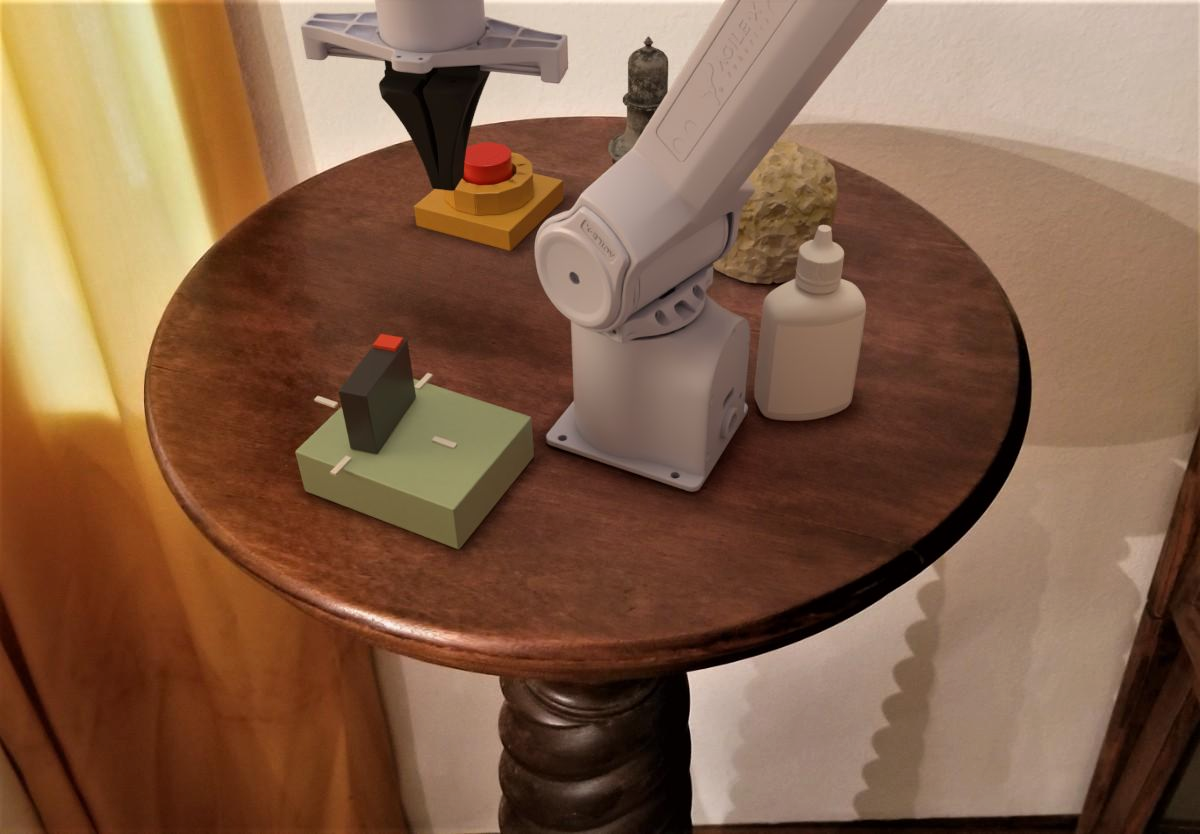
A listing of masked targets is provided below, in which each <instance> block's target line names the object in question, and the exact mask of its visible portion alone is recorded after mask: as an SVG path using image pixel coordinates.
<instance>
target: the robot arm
mask: <svg viewBox="0 0 1200 834" xmlns="http://www.w3.org/2000/svg"><path fill="white" fill-rule="evenodd" d="M888 1H889V0H724V1H723V2H722V5H721V6H720V7H719V9H718V11H717V13H716V14H715V15H714V17H713V19H712V20H711V22H710V23H709V25H708V27H707V29H706V30H705V32H704V33H703V35H702V37H701V38H700V40H699V41H698V43H697V44H696V46H695V47H694V50H692V52H691V54H690V56H689V57H688V59H687V60H686V62H685V64H684V65H683V66H682V68H681V70H680V72H679V73H678V75H677V76H676V78H675V80H674V81H673V83H672V85H671V86H670V88H668V92H667V94H666V96H665V97H664V99H663V100H662V102H661V103H660V105H659V107H658V108H657V110H656V111H655V113H654V115H653V116H652V118H651V119H650V121H649V123H648V124H647V126H646V127H645V129H644V131H643V132H642V134H641V135H640V137H639V139H638V140H637V142H636V143H635V145H634V147H633V148H632V149H631V150H630V151H629V152H628V153H626V154H625V155H624V156H623V157H622V158H621V159H620V160H619V161H617V162H616V163H615V164H613V165H611V166H610V167H609V168H608V169H607V170H606V171H604V172H603V174H601V175H600V176H599V177H598V178H597V179H595V181H593V182H592V183H591V184H590V185H589V186H588V187H586V189H584V190H583V191H582V192H581V194H580V195H579V197H578V198H577V199H576V201H575V203H574V205H573V206H572V207H570V209H568V210H565V211H562V212H560V213H557V214H554V215H552V216H551V217H548V218H546V220H545V221H543V223H542V224H541V225H540V227H539V228H538V230H537V233H536V236H535V240H534V260H535V266H536V271H537V272H536V273H537V276H538V279H539V282H540V284H541V286H542V288H543V290H544V293H545V294H546V296H547V298H548V299H549V300H550V302H551V303H552V304H553V306H554V307H555V308H556V309H557V310H558V312H560V313H561V314H562V315H563V316H564V317H565V318H567V319H568V320H569V321H570V332H571V357H572V358H571V361H572V385H573V387H572V388H573V389H572V390H573V401H572V402H571V403H570V405H569V406H568V407H567V408H566V409H565V410H564V412H563V413H562V414H561V415H560V417H559V418H558V419H557V420H556V422H555V423H554V424H553V425H552V427H551V428H550V429H549V431H547V433H546V435H545V441H546V443H547V444H548V445H549V446H550V447H551V446H552V447H555V448H557V449H560V450H563V451H566V452H570V453H572V454H575V455H578V456H582V457H585V458H588V459H590V460H594V461H597V462H599V463H603V464H605V465H607V466H612V467H614V468H617V469H621V470H624V471H627V472H630V473H633V474H636V475H640V476H642V477H645V478H648V479H650V480H654V481H657V482H660V483H662V484H666V485H668V486H671V487H674V488H677V489H681V490H684V491H686V492H691V493H694V492H697V491H699V490H700V489H701V488H702V486H703V484H704V483H705V482H706V480H707V479H708V477H709V475H710V474H711V472H712V470H713V468H714V467H715V466H716V464H717V463H718V461H719V460H720V458H721V456H722V454H723V452H724V451H725V450H726V448H727V446H728V444H729V443H730V441H731V439H732V438H733V437H734V435H735V434H736V432H737V430H738V429H739V427H740V425H741V423H742V422H743V420H744V419H745V417H746V416H747V414H748V411H749V406H748V404H747V403H746V395H747V394H746V392H747V382H748V369H749V361H750V359H749V358H750V350H751V349H750V348H751V347H750V346H751V326H750V322H749V320H748V319H747V318H745V317H743V316H741V315H739V314H736V313H734V312H732V311H730V310H728V309H726V308H725V307H723V306H721V305H720V304H719V303H717V302H716V301H715V300H714V299H713V298H711V297H710V296H709V295H708V293H707V290H708V288H709V287H710V286H711V285H713V282H714V281H713V280H714V264H712V263H714V262H716V261H718V260H720V259H722V258H723V257H724V256H726V255H727V254H728V253H729V252H730V250H731V249H732V247H733V246H734V244H735V242H736V238H737V235H738V228H739V219H740V215H741V212H742V210H743V207H744V206H745V204H746V203H747V201H748V200H749V199H750V198H751V196H752V195H753V194H754V192H755V189H754V186H753V184H752V182H751V180H750V178H749V176H750V175H751V173H752V172H753V171H754V170H755V168H756V167H757V166H758V164H759V163H760V162H761V161H762V159H763V158H764V157H765V156H766V154H767V153H768V152H769V150H770V149H771V148H772V147H773V145H774V144H775V143H776V142H777V140H778V139H780V138H781V137H782V135H783V134H784V133H785V131H786V130H787V129H788V127H790V126H791V124H792V122H794V120H795V119H796V118H797V117H798V115H799V114H800V112H801V111H802V110H803V109H804V107H805V106H806V105H807V104H808V103H809V101H810V100H811V98H813V96H814V95H815V94H816V93H817V91H818V90H819V88H820V87H821V86H822V84H823V83H824V82H825V81H826V80H827V78H828V77H829V76H830V74H831V73H832V72H833V71H834V69H835V68H836V67H837V66H838V64H839V63H840V62H841V60H842V59H843V58H844V57H845V55H846V54H847V53H848V51H850V49H851V48H852V46H853V45H854V44H855V43H856V41H858V39H859V37H861V35H862V34H863V32H864V31H865V30H866V29H867V28H868V26H869V25H870V24H871V22H872V21H873V20H874V19H875V17H877V15H878V14H879V12H880V11H881V10H882V8H883V7H884V6H885V5H886V3H887V2H888ZM374 3H375V10H376V11H361V12H359V11H358V12H357V11H356V12H318V11H315V12H313V13H312V14H311V15H310V16H309V17H307V19H306V20H305V21H304V22H303V23H302V24H300V30H301V31H300V32H301V37H302V42H303V47H304V54H305V58H306V59H307V60H313V61H324V60H326V59H327V58H328V57H336V58H337V57H338V58H349V59H357V60H367V61H380V62H384V71H383V73H384V76H383V77H382V78H381V80H380V81H379V83H378V88H379V94H380V96H381V99H382V100H383V101H384V102H385V103H386V104H387V105H388V107H389V108H390V109H391V110H392V111H393V113H394V114H395V115H396V117H397V118H398V119H399V121H400V123H401V124H402V126H403V127H404V129H405V130H406V132H407V134H408V136H409V137H410V139H411V141H412V142H413V145H414V147H415V149H416V150H417V152H418V155H419V157H420V160H421V162H422V164H423V166H424V170H425V172H426V175H427V178H428V181H429V183H430V186H431V188H432V190H434V189H440V190H449V191H453V190H455V189H456V187H457V186H458V184H459V182H460V181H461V179H462V178H463V176H464V165H465V155H466V148H468V142H469V137H470V132H471V128H472V126H473V125H472V124H473V122H474V117H475V114H476V111H477V107H478V105H479V102H480V99H481V96H482V94H483V91H484V88H485V86H486V84H487V81H488V79H489V76H490V75H491V72H493V73H503V74H511V75H524V76H533V77H540V81H541V82H543V83H547V84H557V85H559V84H560V83H561V82H562V80H563V79H564V77H565V75H566V73H567V71H568V70H569V47H568V46H569V44H568V43H569V42H568V41H569V39H568V34H564V33H563V34H562V33H555V32H547V31H542V30H538V29H533V28H530V27H526V26H523V25H518V24H515V23H512V22H507V21H503V20H500V19H496V18H492V17H489V16H486V12H485V11H486V10H485V0H374Z"/></svg>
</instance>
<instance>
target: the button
mask: <svg viewBox="0 0 1200 834" xmlns="http://www.w3.org/2000/svg"><path fill="white" fill-rule="evenodd" d="M511 152H512V151H511V149H510V148H509V146H507V145H505V144H502V143H498V142H480V143H475V144H472V145H470V146H467V148H466V155H465V165H464V176H463V178H464V180H465V181H466V182H467V183H471V184H475V185H495V184H498V183H501V182H505V181H508V180H510V179H511V178H512V176H513V169H512V155H511Z"/></svg>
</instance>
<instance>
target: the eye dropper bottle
mask: <svg viewBox="0 0 1200 834" xmlns="http://www.w3.org/2000/svg"><path fill="white" fill-rule="evenodd" d="M844 261H845V251H844V248H843V247H842V246H841V245H840V244H839V243H837V242H834V241H833V233H832V230H831V227H830V226H828V225H820V226H819V227H818V229H817V232H816V235H815V237H814V240H810V241H807V242H805V243H803V244H802V245H801V246H800V248H799V252H798V260H797V269H796V277H795V279H793V280H791V281H787V282H784V283H783V284H781V285H779V286H777V287H776V288H774V289H772V290H770V292H769V293H768V294H767V295H766V296H765V297H764V299H763V303H762V310H761V317H760V318H761V319H760V326H759V327H760V328H759V335H758V336H759V337H758V346H757V356H756V367H755V378H754V388H753V389H754V390H753V397H754V400H755V403H756V405H757V408H758V409H759V411H760V413H761V414H762V415H763V416H764V417H765V418H768V419H770V420H776V421H785V422H786V421H787V422H802V421H803V422H804V421H813V420H819V419H823V418H826V417H829V416H833V415H835V414H837V413H840V412H842V411H844V410H846V409H847V408H848V407H849V406H850V405H851V403H852V400H853V394H854V388H855V382H856V376H857V370H858V365H859V359H860V353H861V346H862V341H863V334H864V330H865V329H864V327H865V320H866V315H867V302H866V299H865V297H864V295H863V293H862V291H861V290H860V289H859V287H858V286H857V285H856V284H854V283H853V282H851V281H849V280H846V279H843V278H842V276H843V275H842V274H843V269H844V267H843V266H844Z"/></svg>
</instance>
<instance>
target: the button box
mask: <svg viewBox="0 0 1200 834" xmlns="http://www.w3.org/2000/svg"><path fill="white" fill-rule="evenodd" d="M511 155H512V169H513V176H512V178H511V179H510V180H508V181H505V182H501V183H498V184H495V185H475V184H471V183H467V182H466V181H465V180H464V178H462V179H461V181H460V182H459V184H458V186H457V187H456V189H455V190H453V191H449V190H440V189H432V191H430V192H429V193H428V194H427V195H425V197H422V199H421V200H419V202H417V203H416V204H415V205H414V206H413V208H414V216H415V223H416V226H417V227H419V228H424V229H426V230H427V229H428V230H431V231H435V232H438V233H441V234H446V235H450V236H453V237H457V238H461V239H463V240H464V239H465V240H468V241H472V242H476V243H479V244H483V245H487V246H490V247H494V248H498V249H501V250H505V251H508V252H511V251H512V250H513V249H514V248H516V247H517V246H518V245H519V244H520V243H521V242H522V241H523V240H525V238H526V237H527V236H528V235H529V234H530V233H531V232H532V231H533V230H534V229H535V228H537V226H538V225H539V224H540V223H541V222H543V220H544V219H546V217H547V216H549V215H550V214H551V213H552V212H553V211H554V210H555V209H556V208H557V207H558V206H559V205H560V204H561V203H562V202H563V201H564V181H563V179H560V178H555V177H551V176H547V175H542V174H540V173H534V166H533V165H534V164H533V162H531V161H530V160H528V159H527V158H526V157H525V156H524V155H523V154H520V153H517V152H513V151H511Z"/></svg>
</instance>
